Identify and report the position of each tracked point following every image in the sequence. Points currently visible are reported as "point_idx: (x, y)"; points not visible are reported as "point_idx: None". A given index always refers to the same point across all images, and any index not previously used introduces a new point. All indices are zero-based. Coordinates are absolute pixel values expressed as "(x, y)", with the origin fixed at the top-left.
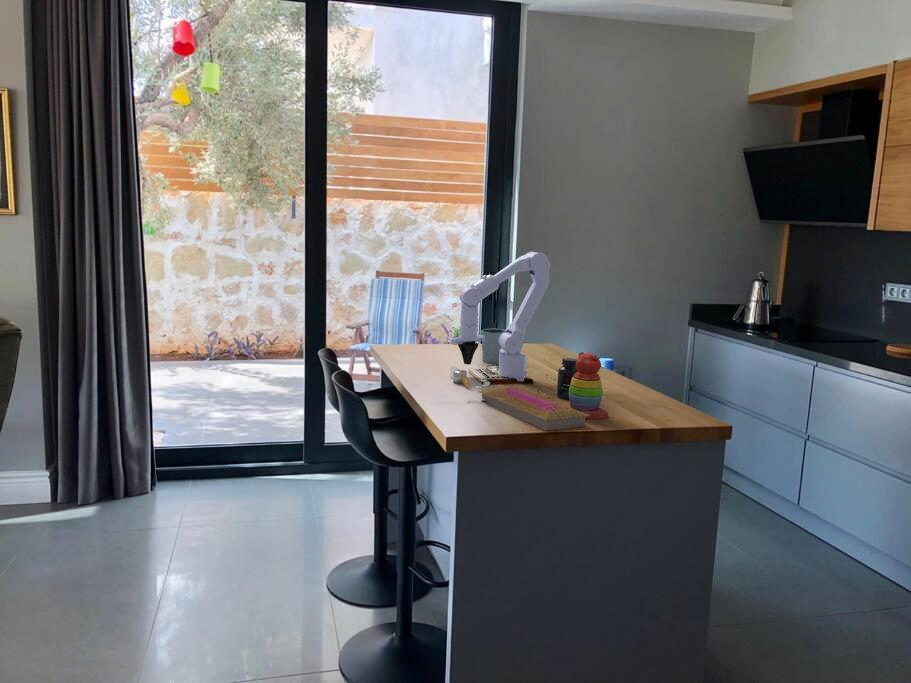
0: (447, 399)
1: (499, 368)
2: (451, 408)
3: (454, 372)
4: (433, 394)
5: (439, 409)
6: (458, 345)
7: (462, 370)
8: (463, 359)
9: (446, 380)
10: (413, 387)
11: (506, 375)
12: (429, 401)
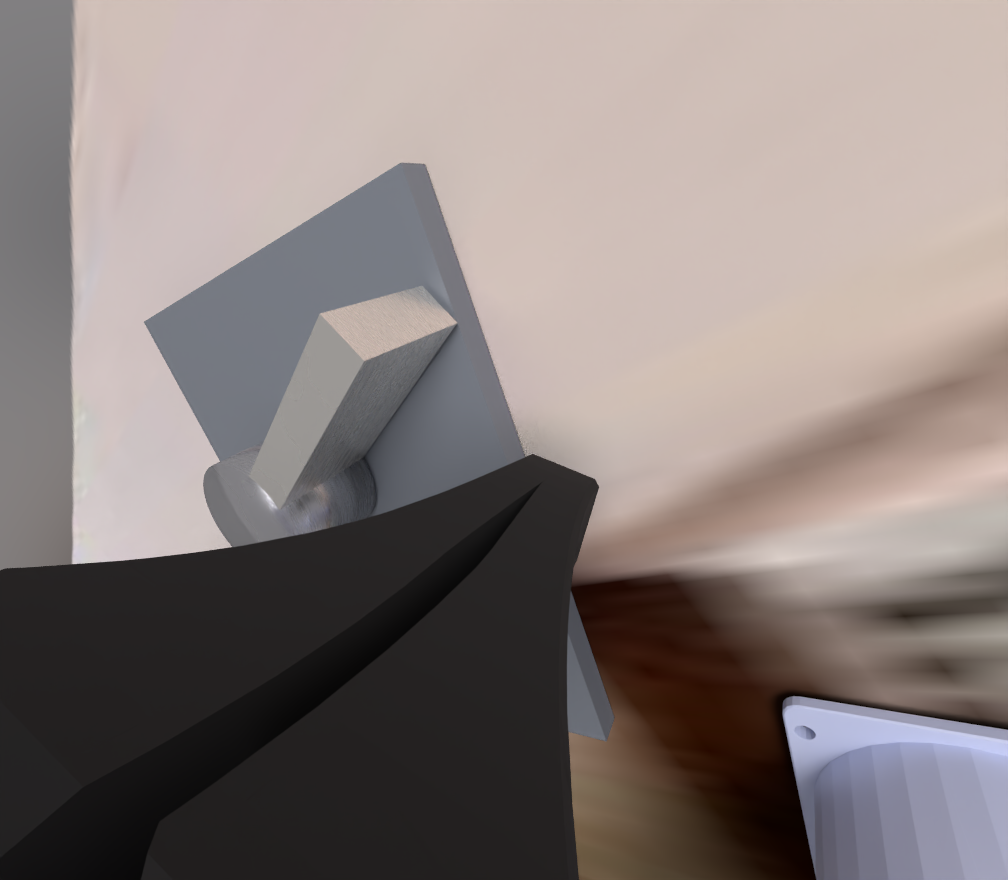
0: (166, 497)
1: (895, 866)
2: (136, 545)
3: (207, 485)
4: (148, 404)
5: (104, 514)
6: (15, 597)
7: (285, 532)
8: (481, 485)
9: None
10: (107, 190)
11: (816, 835)
12: (103, 443)
